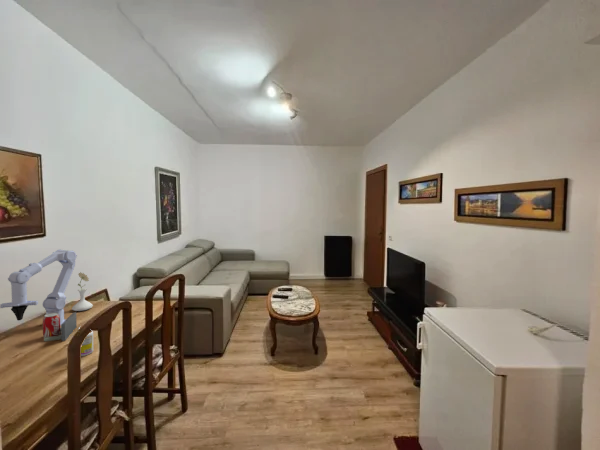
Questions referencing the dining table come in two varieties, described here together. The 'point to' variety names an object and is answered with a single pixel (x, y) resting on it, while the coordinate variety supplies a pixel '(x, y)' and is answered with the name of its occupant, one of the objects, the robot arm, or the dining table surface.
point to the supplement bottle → (87, 344)
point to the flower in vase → (82, 296)
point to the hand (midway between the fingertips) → (19, 319)
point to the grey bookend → (65, 329)
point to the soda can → (51, 325)
